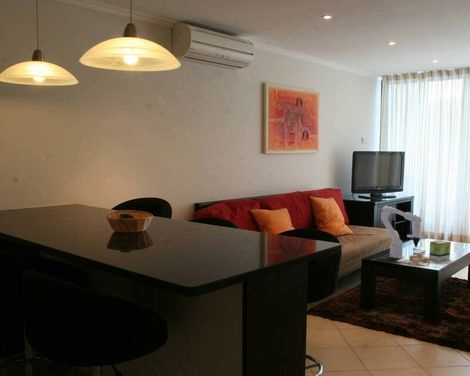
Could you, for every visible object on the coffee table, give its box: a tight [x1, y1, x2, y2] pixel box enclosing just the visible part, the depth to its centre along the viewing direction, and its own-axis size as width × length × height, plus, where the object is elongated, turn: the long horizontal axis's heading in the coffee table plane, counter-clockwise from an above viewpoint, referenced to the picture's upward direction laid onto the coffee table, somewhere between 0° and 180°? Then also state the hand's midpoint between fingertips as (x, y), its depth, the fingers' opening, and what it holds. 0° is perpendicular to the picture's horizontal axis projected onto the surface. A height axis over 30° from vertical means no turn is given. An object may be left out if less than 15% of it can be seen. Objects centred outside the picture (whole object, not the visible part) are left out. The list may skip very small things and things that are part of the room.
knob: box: [412, 258, 419, 263], centre depth 369 cm, size 4×4×3 cm
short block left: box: [409, 254, 416, 261], centre depth 381 cm, size 4×4×4 cm
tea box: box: [428, 239, 451, 262], centre depth 387 cm, size 15×10×15 cm
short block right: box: [423, 256, 431, 264], centre depth 374 cm, size 4×4×4 cm
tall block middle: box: [415, 252, 424, 262], centre depth 378 cm, size 4×4×6 cm
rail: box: [396, 258, 430, 267], centre depth 371 cm, size 22×8×1 cm, turn 48°
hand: (415, 246), depth 390 cm, fingers closed
